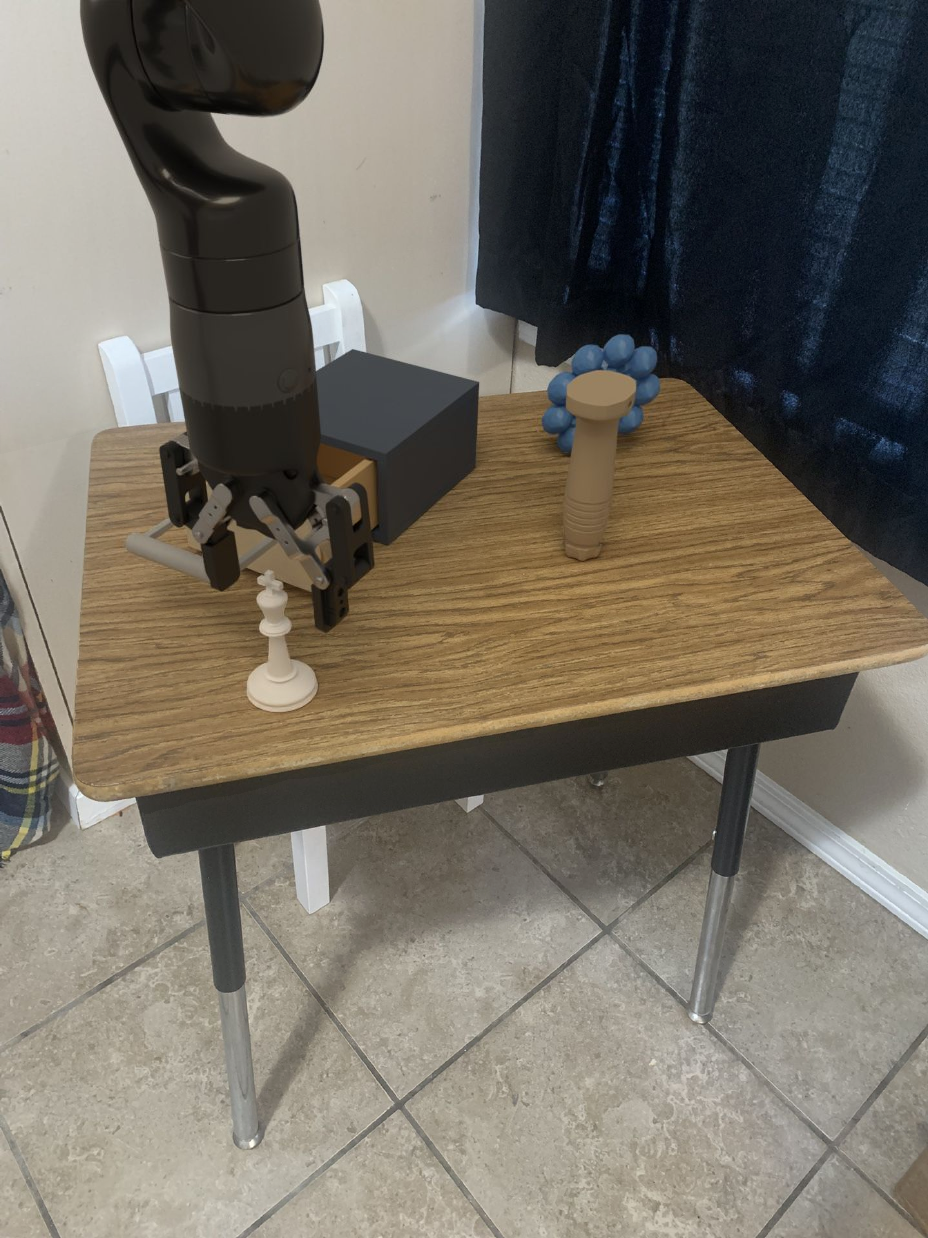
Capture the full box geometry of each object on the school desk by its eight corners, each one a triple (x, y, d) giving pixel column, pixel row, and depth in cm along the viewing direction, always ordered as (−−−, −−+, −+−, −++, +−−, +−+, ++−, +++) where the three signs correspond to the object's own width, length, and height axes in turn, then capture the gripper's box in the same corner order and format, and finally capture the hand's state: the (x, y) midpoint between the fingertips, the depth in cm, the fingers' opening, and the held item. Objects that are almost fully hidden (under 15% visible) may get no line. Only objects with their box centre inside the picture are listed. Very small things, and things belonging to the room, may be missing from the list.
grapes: (634, 427, 102) (651, 314, 94) (659, 458, 96) (679, 341, 89) (526, 436, 99) (535, 321, 92) (546, 469, 94) (557, 350, 87)
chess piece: (273, 657, 71) (259, 543, 65) (331, 678, 70) (322, 563, 63) (232, 698, 68) (213, 581, 62) (292, 721, 66) (279, 604, 60)
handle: (622, 542, 84) (647, 379, 75) (591, 579, 80) (614, 411, 71) (571, 526, 86) (590, 365, 77) (538, 561, 82) (554, 395, 73)
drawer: (250, 648, 70) (239, 570, 66) (119, 595, 75) (101, 518, 71) (411, 508, 86) (411, 437, 82) (295, 470, 91) (289, 402, 86)
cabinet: (388, 545, 83) (386, 453, 78) (258, 501, 88) (247, 411, 83) (476, 467, 94) (479, 381, 89) (356, 431, 99) (352, 348, 94)
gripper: (392, 375, 54) (399, 608, 64) (195, 322, 59) (230, 545, 69) (310, 429, 49) (331, 674, 59) (102, 366, 54) (154, 599, 64)
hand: (276, 604), depth 64 cm, fingers open, 8 cm apart
